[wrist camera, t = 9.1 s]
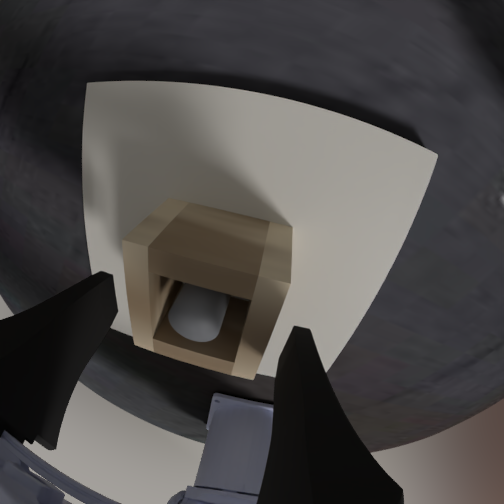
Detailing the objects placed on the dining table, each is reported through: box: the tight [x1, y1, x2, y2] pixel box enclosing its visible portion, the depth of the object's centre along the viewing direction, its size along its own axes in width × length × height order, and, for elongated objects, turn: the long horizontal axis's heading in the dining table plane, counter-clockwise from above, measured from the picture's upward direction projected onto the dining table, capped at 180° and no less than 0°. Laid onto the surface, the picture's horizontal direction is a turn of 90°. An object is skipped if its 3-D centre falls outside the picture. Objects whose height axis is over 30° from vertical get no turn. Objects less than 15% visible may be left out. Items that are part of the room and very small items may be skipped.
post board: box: [82, 81, 438, 377], centre depth 12 cm, size 16×16×5 cm
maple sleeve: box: [122, 198, 293, 380], centre depth 11 cm, size 6×6×4 cm
